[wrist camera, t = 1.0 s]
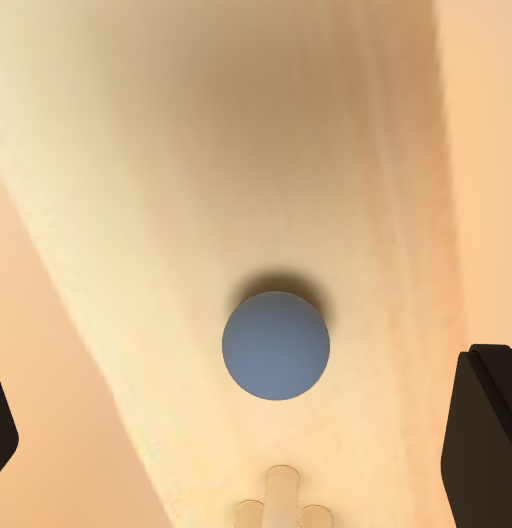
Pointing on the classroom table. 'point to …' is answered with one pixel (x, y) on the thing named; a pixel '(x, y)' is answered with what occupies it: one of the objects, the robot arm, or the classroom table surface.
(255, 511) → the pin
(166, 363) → the classroom table surface
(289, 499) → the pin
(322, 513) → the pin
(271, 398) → the ball
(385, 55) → the classroom table surface
